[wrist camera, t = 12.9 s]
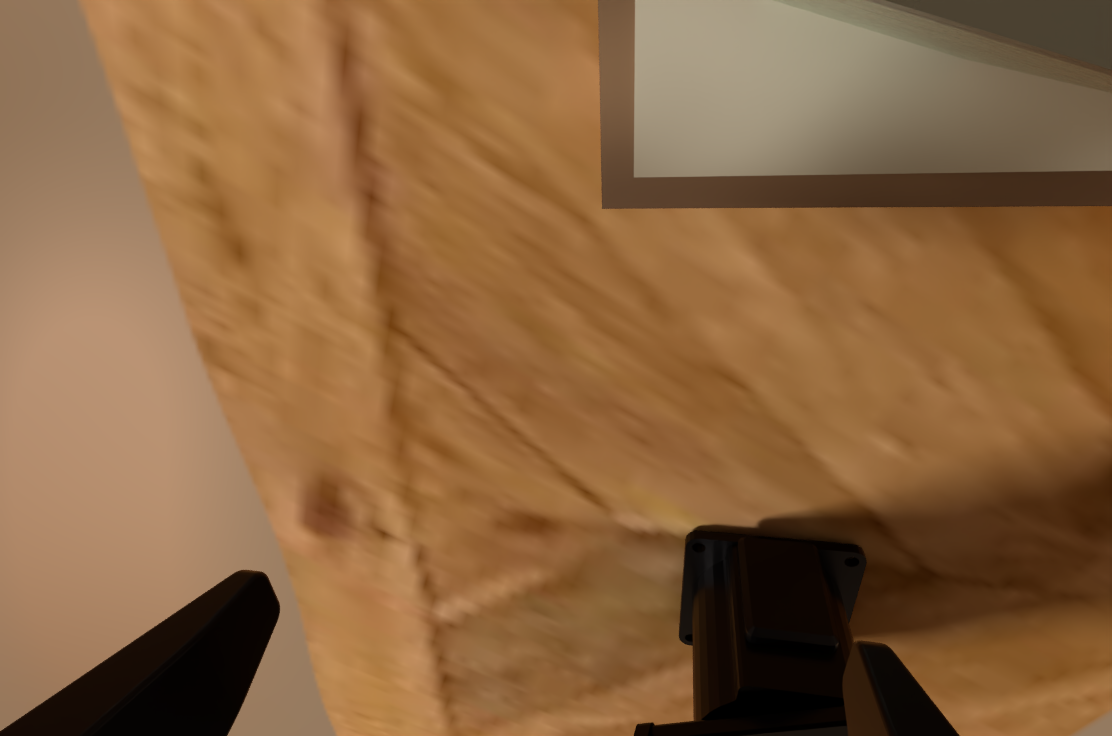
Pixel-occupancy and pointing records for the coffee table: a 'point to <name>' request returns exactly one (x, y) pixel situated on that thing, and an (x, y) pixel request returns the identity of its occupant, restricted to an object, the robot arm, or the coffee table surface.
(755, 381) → the coffee table surface
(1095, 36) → the olive grey square block
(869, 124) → the brown framed square mirror
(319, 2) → the coffee table surface
